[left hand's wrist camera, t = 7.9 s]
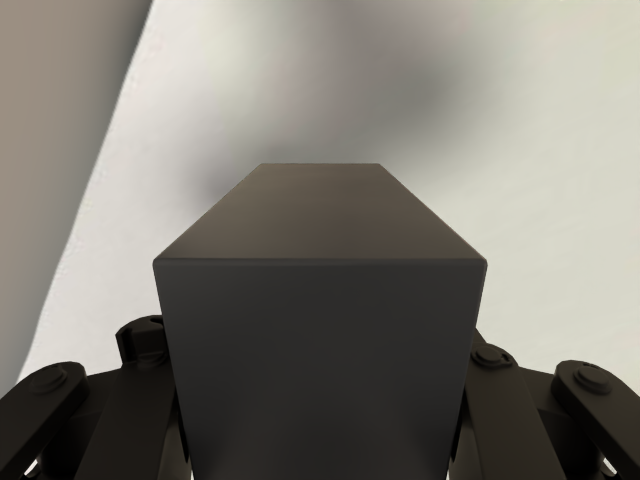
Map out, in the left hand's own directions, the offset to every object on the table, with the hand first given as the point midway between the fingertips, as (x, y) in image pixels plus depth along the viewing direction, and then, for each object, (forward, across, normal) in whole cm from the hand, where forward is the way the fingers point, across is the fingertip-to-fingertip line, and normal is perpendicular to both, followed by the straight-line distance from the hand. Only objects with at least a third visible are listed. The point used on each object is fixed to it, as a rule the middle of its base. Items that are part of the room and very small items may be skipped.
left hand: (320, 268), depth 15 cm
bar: (+1, 0, -7) cm, 7 cm away
